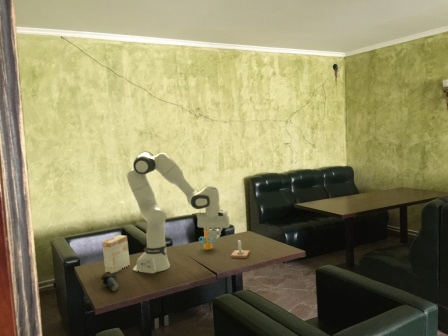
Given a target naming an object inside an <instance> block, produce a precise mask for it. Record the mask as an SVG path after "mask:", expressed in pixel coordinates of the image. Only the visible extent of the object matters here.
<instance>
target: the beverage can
mask: <svg viewBox="0 0 448 336" xmlns="http://www.w3.org/2000/svg"><path fill="white" fill-rule="evenodd" d="M100 280H101V281H102V284H103V286H104V285H108V286H107V287H109V289H110V290H111V291H113V292H116V291H117V290H119V287H120V285H119V283H118V282H117V281H118V274H117V272H114V273H113V274H112V273H108V274H107V275H106V274H103V275H102V276H101V277H100Z"/></svg>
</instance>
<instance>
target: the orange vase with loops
mask: <svg viewBox="0 0 448 336" xmlns="http://www.w3.org/2000/svg"><path fill="white" fill-rule="evenodd" d="M210 229H211V228H208V231H209V230H210ZM203 234H204V235H203V236H200V237H199V238H198V241H199V242H200V243H201V244H202V245H203V250H207V251H208V250H212V249H213V243H215V242H216V241H217V239H210V238H208V235H207V232H206V230H205V228H203Z"/></svg>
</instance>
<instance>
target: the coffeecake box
mask: <svg viewBox="0 0 448 336" xmlns="http://www.w3.org/2000/svg"><path fill="white" fill-rule="evenodd" d="M101 245H102V252H103V253H102V254H103V260H104V269H105V270H104V271H105V273H106V272H110V273H109V274H112V273H114V272H116V273H118V272H120V271H122V270H123V269H125V268H127V267H129V266H131V264H130V263H131V262H130V261H131V260H130V253H129V243H128V235H122V234H119V235H116V236H112V237H111V238H108V239H106V240H104V241H102V242H101ZM128 265H129V266H128ZM126 266H127V267H126ZM124 267H125V268H124ZM122 268H123V269H122Z"/></svg>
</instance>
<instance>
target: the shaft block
mask: <svg viewBox="0 0 448 336" xmlns="http://www.w3.org/2000/svg"><path fill="white" fill-rule="evenodd" d="M237 246H238V247H237V249H238V250H237V249H236V250H234V251H233V252H232V253H231V255H230V257H231V258H232V259H233V258H234V259H235V258H236V259H247V258H248V256H249V254H250V250H243V249H242V241H241V240H237Z"/></svg>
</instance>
